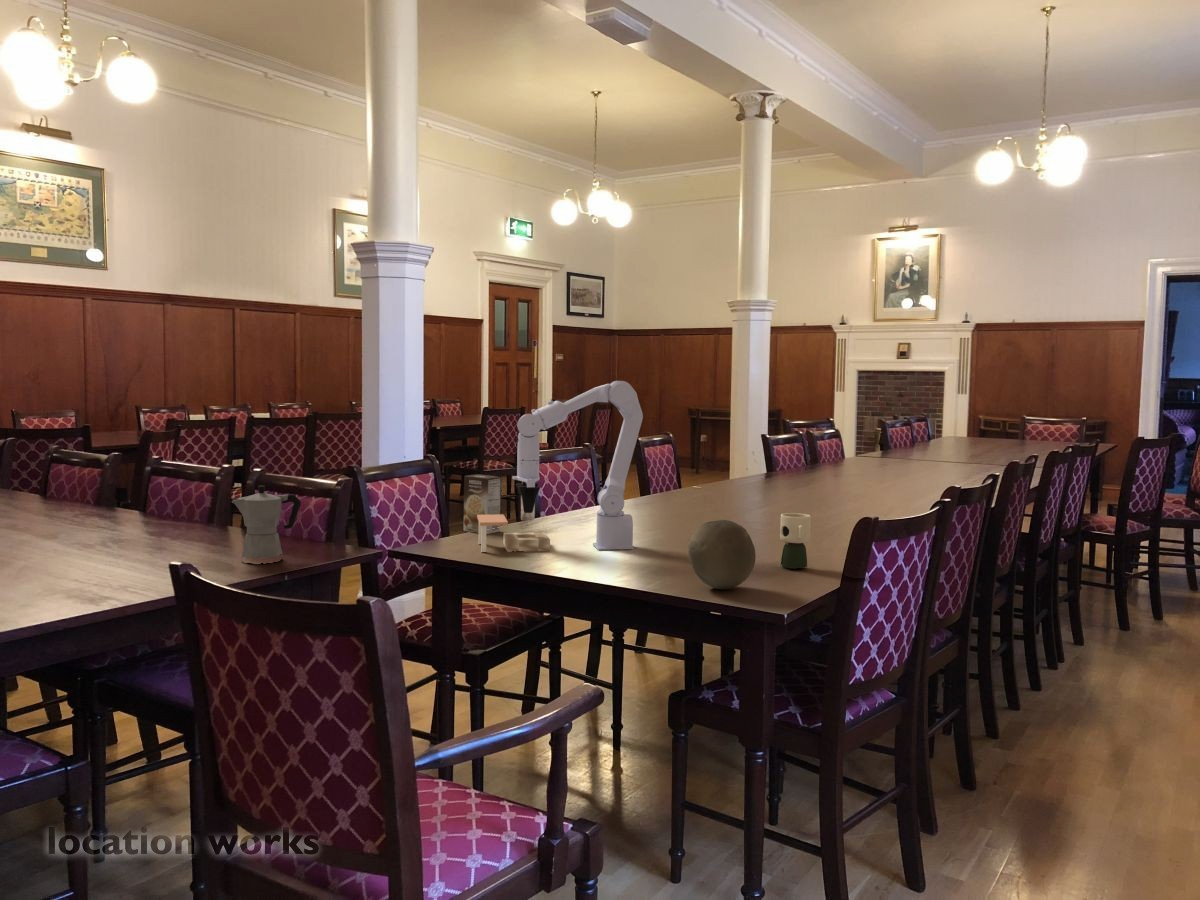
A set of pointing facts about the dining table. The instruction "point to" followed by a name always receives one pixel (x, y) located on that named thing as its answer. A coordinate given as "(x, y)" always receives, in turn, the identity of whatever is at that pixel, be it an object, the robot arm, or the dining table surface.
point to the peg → (527, 515)
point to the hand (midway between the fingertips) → (527, 511)
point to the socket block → (526, 541)
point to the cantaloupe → (722, 554)
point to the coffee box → (481, 500)
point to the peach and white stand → (488, 521)
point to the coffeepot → (264, 522)
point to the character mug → (794, 539)
